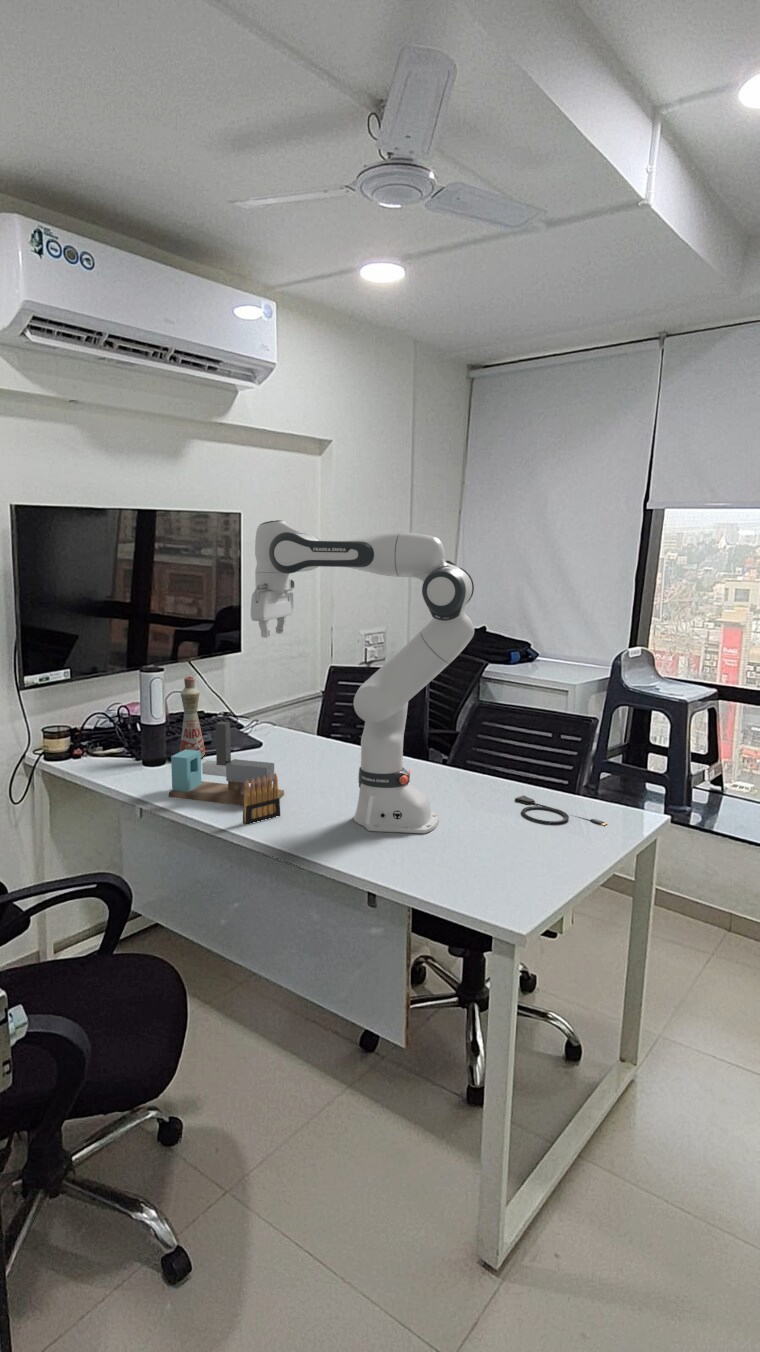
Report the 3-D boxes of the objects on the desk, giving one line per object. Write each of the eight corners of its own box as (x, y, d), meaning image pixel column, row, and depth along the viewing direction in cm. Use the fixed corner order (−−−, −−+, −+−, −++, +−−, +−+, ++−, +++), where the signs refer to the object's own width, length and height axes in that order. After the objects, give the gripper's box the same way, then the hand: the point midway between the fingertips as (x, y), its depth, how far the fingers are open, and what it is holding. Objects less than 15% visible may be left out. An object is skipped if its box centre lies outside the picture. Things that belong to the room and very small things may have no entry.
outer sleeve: (274, 779, 222) (274, 763, 221) (267, 785, 217) (266, 767, 216) (234, 775, 225) (234, 759, 224) (226, 780, 220) (226, 763, 219)
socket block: (201, 783, 230) (200, 750, 228) (187, 791, 222) (186, 758, 221) (186, 781, 231) (185, 749, 230) (172, 790, 224) (171, 756, 222)
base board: (284, 795, 226) (283, 776, 225) (267, 808, 214) (266, 789, 213) (189, 784, 234) (189, 767, 233) (168, 797, 222) (168, 778, 221)
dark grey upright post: (268, 777, 221) (267, 725, 218) (263, 780, 218) (262, 728, 215) (207, 771, 226) (206, 720, 223) (202, 774, 223) (201, 722, 220)
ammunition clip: (246, 825, 202) (245, 780, 200) (242, 823, 203) (241, 779, 201) (280, 816, 209) (280, 773, 207) (276, 814, 210) (276, 771, 208)
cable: (578, 839, 197) (579, 833, 197) (492, 809, 218) (492, 804, 217) (607, 826, 206) (607, 821, 206) (521, 799, 227) (522, 794, 227)
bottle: (204, 753, 267) (202, 673, 262) (207, 760, 259) (205, 678, 254) (178, 755, 265) (175, 674, 260) (180, 762, 256) (177, 679, 251)
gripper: (267, 585, 194) (267, 640, 197) (297, 581, 214) (297, 631, 216) (244, 584, 196) (244, 639, 198) (276, 581, 215) (276, 630, 218)
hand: (272, 635), depth 207 cm, fingers open, 8 cm apart
